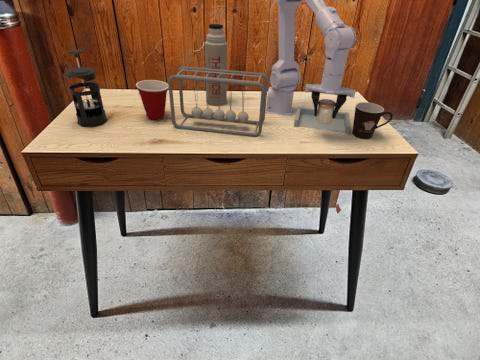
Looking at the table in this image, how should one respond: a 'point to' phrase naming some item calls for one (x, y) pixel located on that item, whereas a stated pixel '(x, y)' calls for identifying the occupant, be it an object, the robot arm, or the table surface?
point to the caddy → (309, 121)
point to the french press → (87, 105)
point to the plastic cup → (153, 98)
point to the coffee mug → (367, 119)
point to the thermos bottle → (216, 64)
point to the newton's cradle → (218, 113)
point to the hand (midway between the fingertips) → (324, 116)
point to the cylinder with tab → (325, 111)
